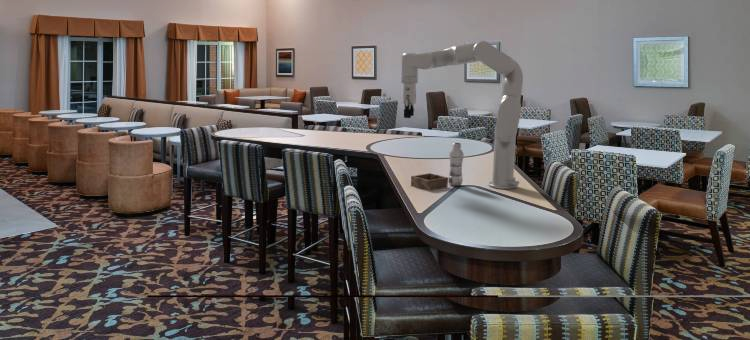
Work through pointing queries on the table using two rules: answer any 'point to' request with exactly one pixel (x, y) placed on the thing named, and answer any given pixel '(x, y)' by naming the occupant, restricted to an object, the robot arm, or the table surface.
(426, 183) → the square wooden frame
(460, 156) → the silver rounded threaded piece
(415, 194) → the table surface
